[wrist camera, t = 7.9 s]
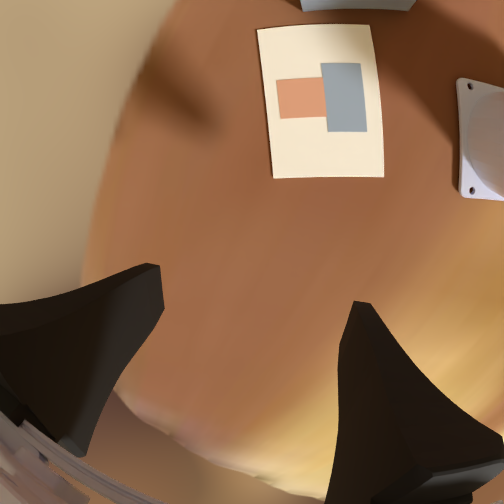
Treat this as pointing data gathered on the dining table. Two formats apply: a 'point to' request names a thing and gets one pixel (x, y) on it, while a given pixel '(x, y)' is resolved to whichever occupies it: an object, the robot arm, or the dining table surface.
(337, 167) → the page
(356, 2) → the base brick
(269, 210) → the dining table surface
